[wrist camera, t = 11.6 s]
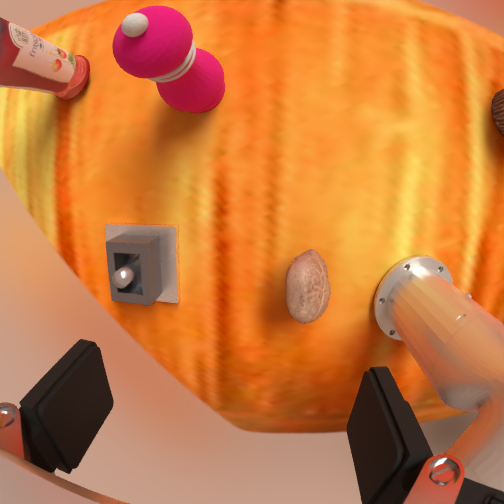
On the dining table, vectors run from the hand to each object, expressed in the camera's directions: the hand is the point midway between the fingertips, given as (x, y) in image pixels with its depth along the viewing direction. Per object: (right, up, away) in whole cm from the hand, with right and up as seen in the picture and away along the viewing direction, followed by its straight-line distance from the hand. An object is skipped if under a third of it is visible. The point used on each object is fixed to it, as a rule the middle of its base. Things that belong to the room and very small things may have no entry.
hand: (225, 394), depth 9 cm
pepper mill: (-5, +24, +23) cm, 34 cm away
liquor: (-24, +29, +23) cm, 45 cm away
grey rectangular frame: (-13, +3, +28) cm, 31 cm away
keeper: (-13, +4, +29) cm, 32 cm away
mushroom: (+7, +2, +28) cm, 30 cm away
